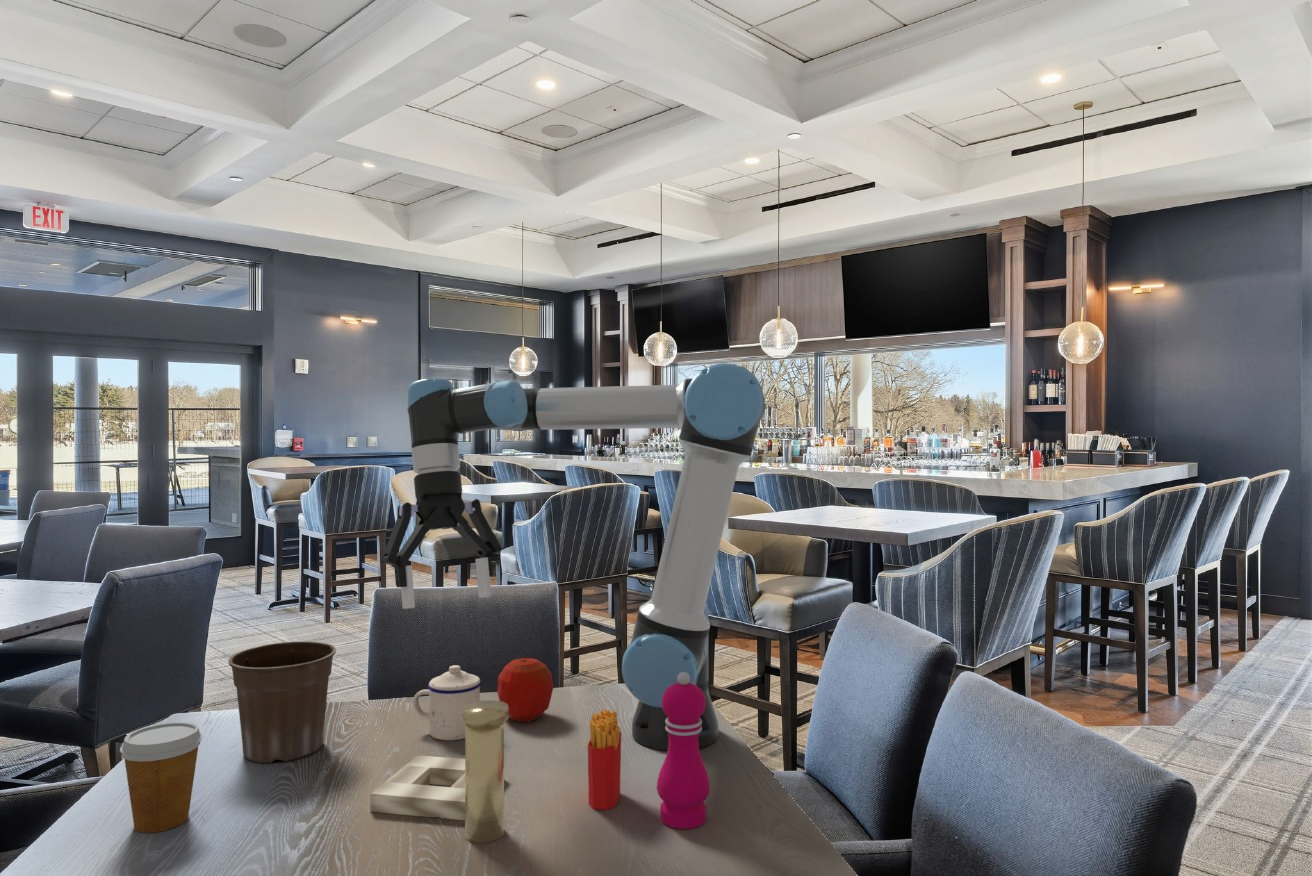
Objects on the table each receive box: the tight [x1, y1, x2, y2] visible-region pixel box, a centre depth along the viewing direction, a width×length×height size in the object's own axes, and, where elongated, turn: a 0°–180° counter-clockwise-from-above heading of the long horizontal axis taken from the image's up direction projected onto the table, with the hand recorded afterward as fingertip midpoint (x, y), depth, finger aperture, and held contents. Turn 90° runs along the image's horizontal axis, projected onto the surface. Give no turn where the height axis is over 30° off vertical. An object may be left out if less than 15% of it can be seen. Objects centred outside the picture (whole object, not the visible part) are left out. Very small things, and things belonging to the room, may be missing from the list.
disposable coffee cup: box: [119, 721, 203, 834], centre depth 110 cm, size 10×10×12 cm
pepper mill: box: [656, 672, 711, 830], centre depth 111 cm, size 7×7×20 cm
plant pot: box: [227, 641, 337, 764], centre depth 135 cm, size 16×16×16 cm
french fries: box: [587, 709, 622, 811], centre depth 117 cm, size 8×4×12 cm, turn 170°
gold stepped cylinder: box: [461, 699, 509, 844], centre depth 107 cm, size 6×6×16 cm
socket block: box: [369, 755, 465, 821], centre depth 119 cm, size 14×14×2 cm
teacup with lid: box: [412, 664, 482, 741], centre depth 144 cm, size 12×9×12 cm
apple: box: [496, 655, 554, 723], centre depth 152 cm, size 10×10×12 cm
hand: (448, 602), depth 131 cm, fingers open, 13 cm apart
